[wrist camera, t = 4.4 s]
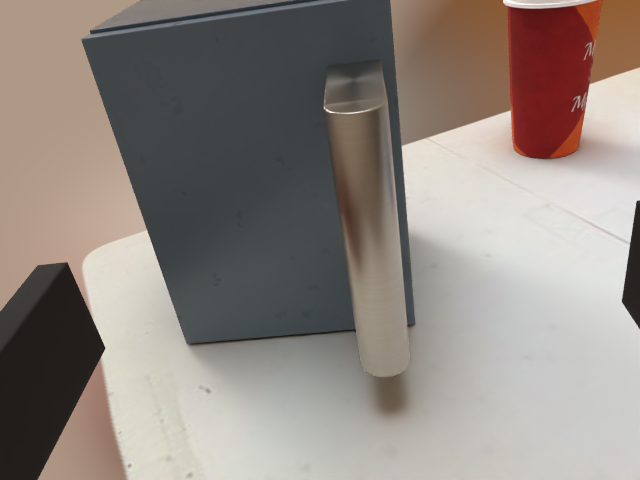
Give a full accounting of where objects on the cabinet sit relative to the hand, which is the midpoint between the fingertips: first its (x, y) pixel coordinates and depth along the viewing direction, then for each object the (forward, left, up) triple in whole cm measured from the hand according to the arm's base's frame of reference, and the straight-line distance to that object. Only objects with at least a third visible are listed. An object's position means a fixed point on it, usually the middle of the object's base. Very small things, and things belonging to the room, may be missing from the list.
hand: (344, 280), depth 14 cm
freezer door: (-13, +8, -16) cm, 22 cm away
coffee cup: (-12, +44, -17) cm, 49 cm away
